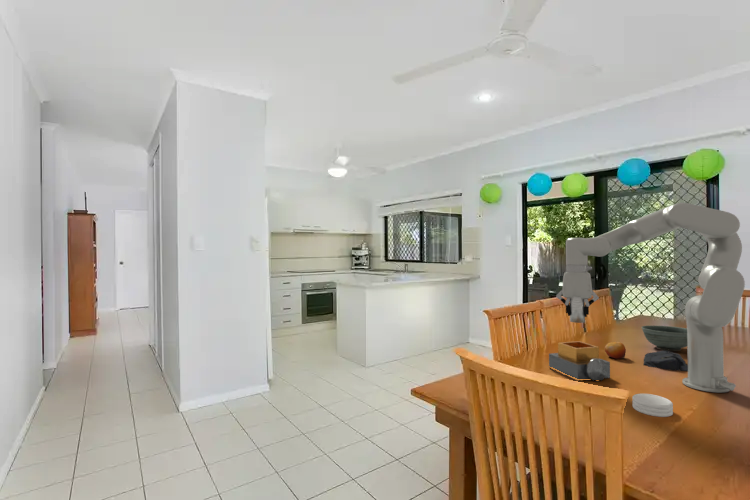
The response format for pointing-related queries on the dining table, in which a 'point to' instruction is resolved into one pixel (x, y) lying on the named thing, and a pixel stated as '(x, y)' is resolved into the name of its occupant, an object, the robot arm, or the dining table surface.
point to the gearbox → (580, 361)
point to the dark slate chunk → (665, 361)
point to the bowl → (666, 337)
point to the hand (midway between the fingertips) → (577, 315)
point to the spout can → (577, 310)
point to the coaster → (652, 405)
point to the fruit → (615, 350)
